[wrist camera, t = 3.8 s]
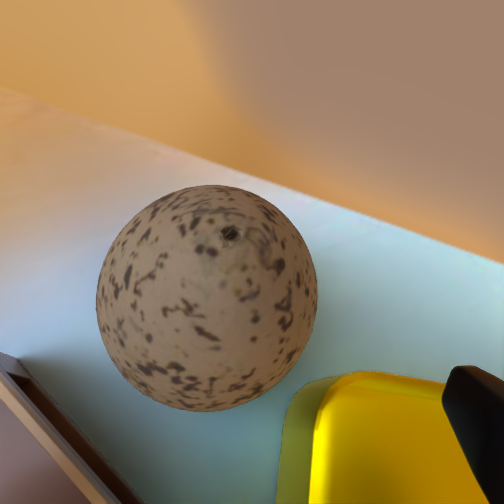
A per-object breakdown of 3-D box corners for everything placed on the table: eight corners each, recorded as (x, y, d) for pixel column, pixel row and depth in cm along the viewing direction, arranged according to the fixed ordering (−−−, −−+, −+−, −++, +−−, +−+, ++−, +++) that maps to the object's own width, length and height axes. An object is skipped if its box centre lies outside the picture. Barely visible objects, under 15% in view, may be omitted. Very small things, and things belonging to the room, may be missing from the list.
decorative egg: (125, 239, 19) (93, 79, 10) (278, 256, 20) (375, 128, 11) (98, 407, 16) (18, 401, 7) (275, 415, 18) (398, 418, 8)
